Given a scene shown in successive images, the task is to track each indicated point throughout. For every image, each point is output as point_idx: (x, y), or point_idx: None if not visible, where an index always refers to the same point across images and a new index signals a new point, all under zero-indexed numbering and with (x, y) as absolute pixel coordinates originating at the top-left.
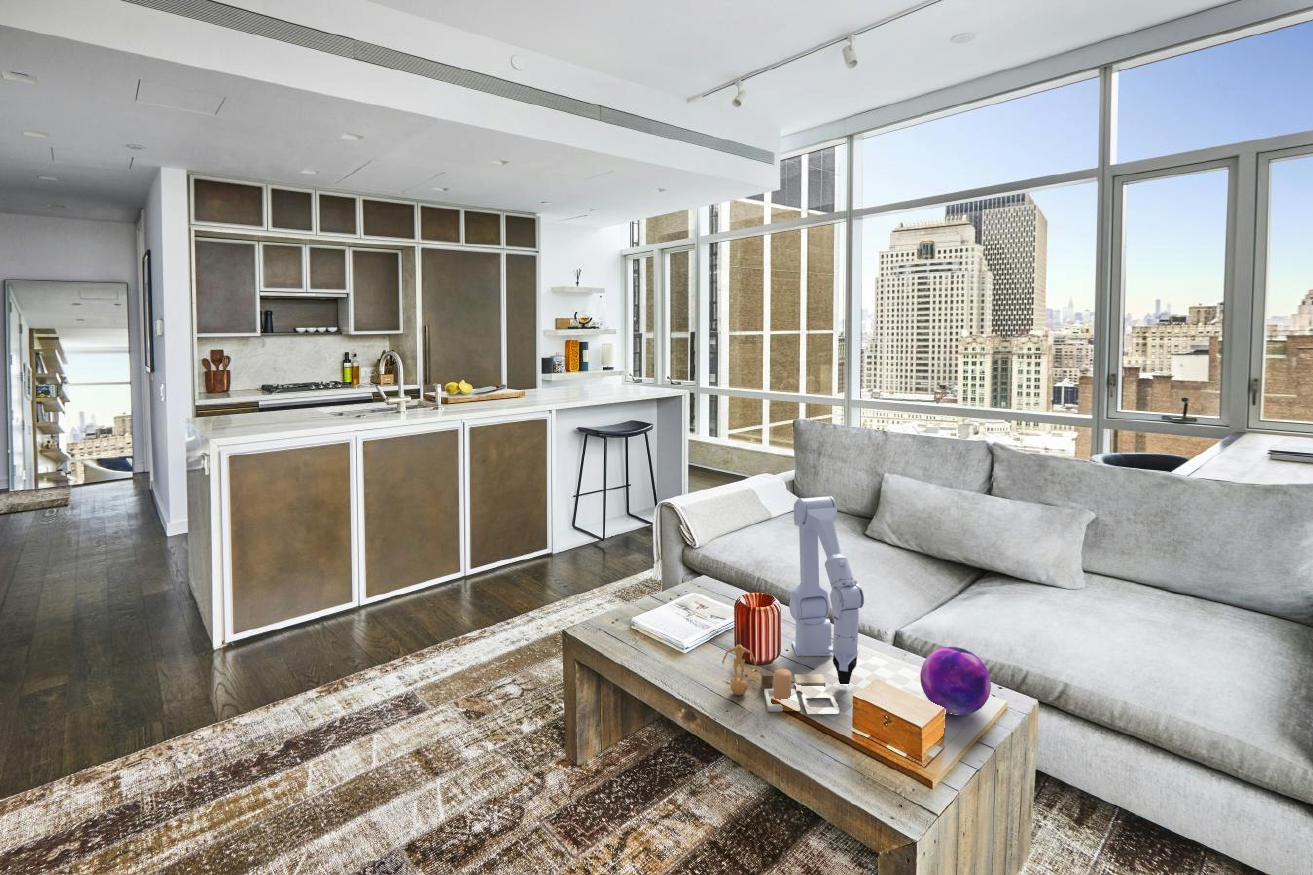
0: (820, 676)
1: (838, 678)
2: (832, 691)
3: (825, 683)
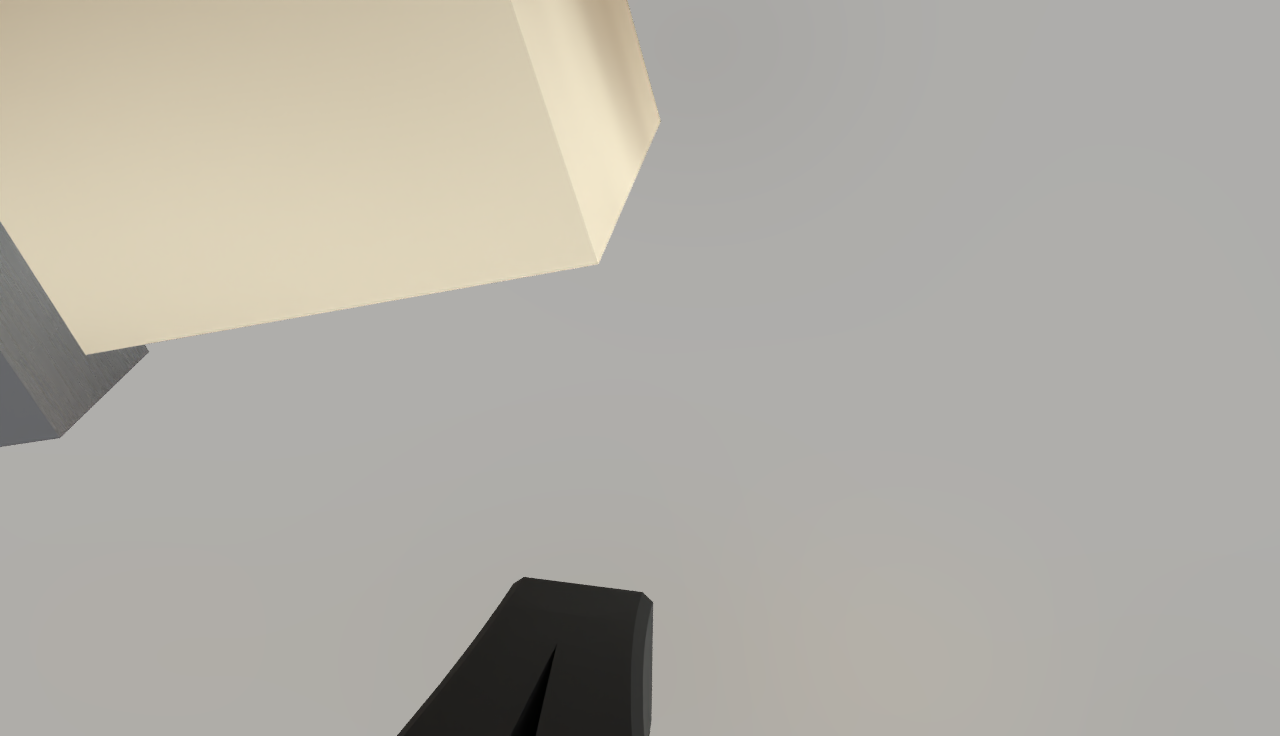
0: (407, 198)
1: (442, 687)
2: (40, 433)
3: (97, 335)
